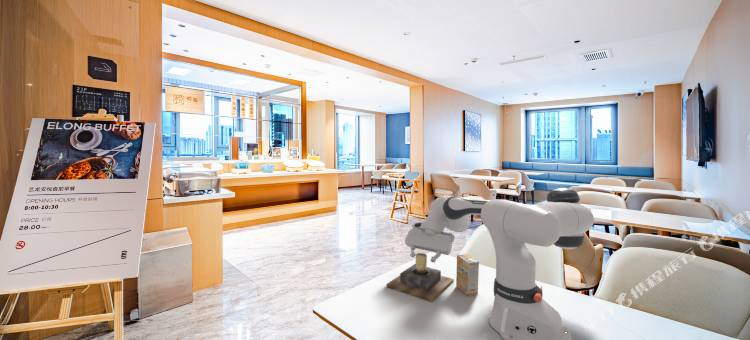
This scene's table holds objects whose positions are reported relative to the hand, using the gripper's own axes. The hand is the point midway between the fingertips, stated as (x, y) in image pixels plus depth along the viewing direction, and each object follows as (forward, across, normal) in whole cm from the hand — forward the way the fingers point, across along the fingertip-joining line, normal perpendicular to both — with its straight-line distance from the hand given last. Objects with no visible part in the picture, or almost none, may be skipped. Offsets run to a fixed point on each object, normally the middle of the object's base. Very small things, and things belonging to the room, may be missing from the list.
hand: (422, 259), depth 125 cm
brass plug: (+8, 0, -5) cm, 9 cm away
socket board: (+8, 0, -6) cm, 10 cm away
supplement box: (+4, -17, -10) cm, 21 cm away
